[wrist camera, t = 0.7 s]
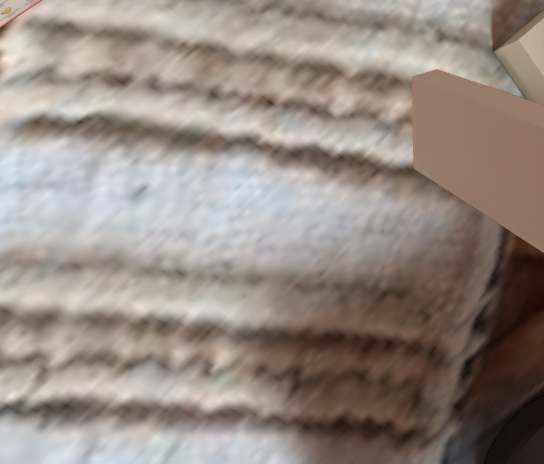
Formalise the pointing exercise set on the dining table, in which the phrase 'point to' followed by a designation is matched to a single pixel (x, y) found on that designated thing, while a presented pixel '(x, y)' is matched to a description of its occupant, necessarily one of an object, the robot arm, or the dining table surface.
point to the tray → (526, 58)
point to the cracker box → (14, 9)
